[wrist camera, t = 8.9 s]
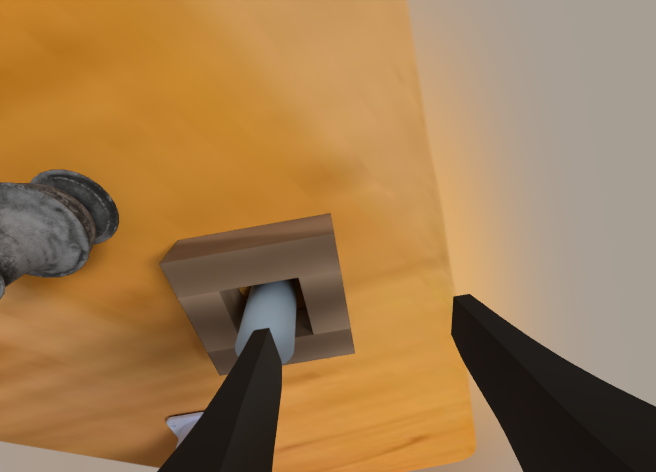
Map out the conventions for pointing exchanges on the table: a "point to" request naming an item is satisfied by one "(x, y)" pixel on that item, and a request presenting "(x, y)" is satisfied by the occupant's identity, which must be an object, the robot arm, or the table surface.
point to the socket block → (258, 268)
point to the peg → (271, 315)
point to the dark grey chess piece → (52, 224)
